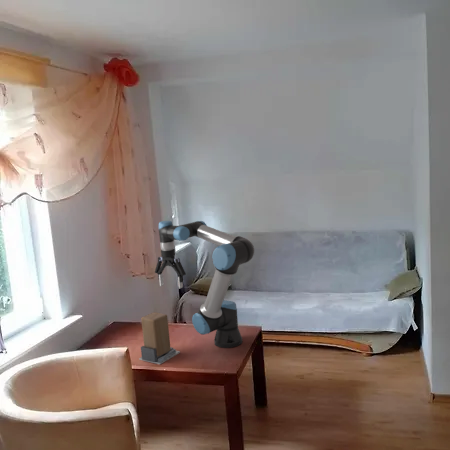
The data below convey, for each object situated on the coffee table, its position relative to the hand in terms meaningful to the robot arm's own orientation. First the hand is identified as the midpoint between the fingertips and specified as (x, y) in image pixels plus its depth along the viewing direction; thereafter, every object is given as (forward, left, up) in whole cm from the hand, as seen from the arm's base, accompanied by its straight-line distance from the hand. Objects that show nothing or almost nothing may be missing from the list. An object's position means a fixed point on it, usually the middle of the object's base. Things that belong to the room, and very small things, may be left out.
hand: (171, 286), depth 300 cm
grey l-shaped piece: (-7, +22, -31) cm, 38 cm away
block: (-7, +23, -28) cm, 37 cm away
